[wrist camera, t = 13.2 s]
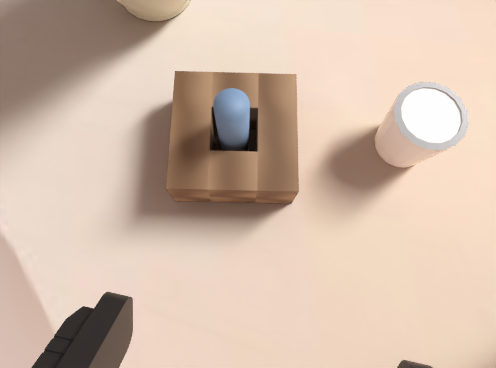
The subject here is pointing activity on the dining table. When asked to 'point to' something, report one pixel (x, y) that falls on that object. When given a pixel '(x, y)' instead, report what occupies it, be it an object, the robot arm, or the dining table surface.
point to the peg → (232, 119)
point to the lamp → (155, 8)
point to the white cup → (421, 124)
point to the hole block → (233, 162)
